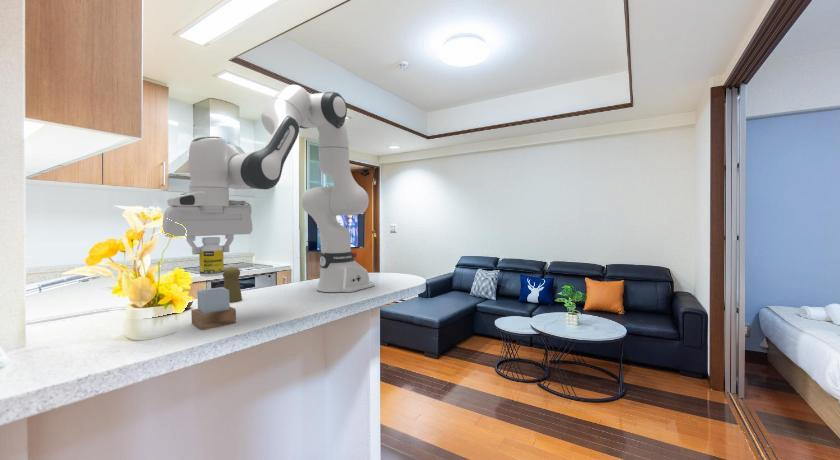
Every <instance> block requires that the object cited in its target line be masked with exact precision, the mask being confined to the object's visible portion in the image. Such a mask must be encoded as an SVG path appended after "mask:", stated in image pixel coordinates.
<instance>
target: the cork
mask: <svg viewBox="0 0 840 460" xmlns="http://www.w3.org/2000/svg"><path fill="white" fill-rule="evenodd" d="M240 275H241V269H239V268H238V267H226V268H224V272H223V274H222V275H221V276H222V277H223V278H224V279H223V287H224V288H226V289H228V290H229V303H230V304H233V303H239V302H241V301H243V296H242V289H241V285H240V279H239V277H240Z"/></svg>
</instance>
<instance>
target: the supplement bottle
mask: <svg viewBox="0 0 840 460" xmlns="http://www.w3.org/2000/svg"><path fill="white" fill-rule="evenodd" d="M201 239H202V240H201V243H202V246H200V247H201V250H200V251H201V254H198V255H199V258H198V260H199V276H201V277H219V276H223V275H222V274H223V272H224V269H225V268H224V265H225V264H224V252H223V247H222V246H223V245H220V243H221V237H218V236H210V237H209V236H204V237H202V238H201Z"/></svg>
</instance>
